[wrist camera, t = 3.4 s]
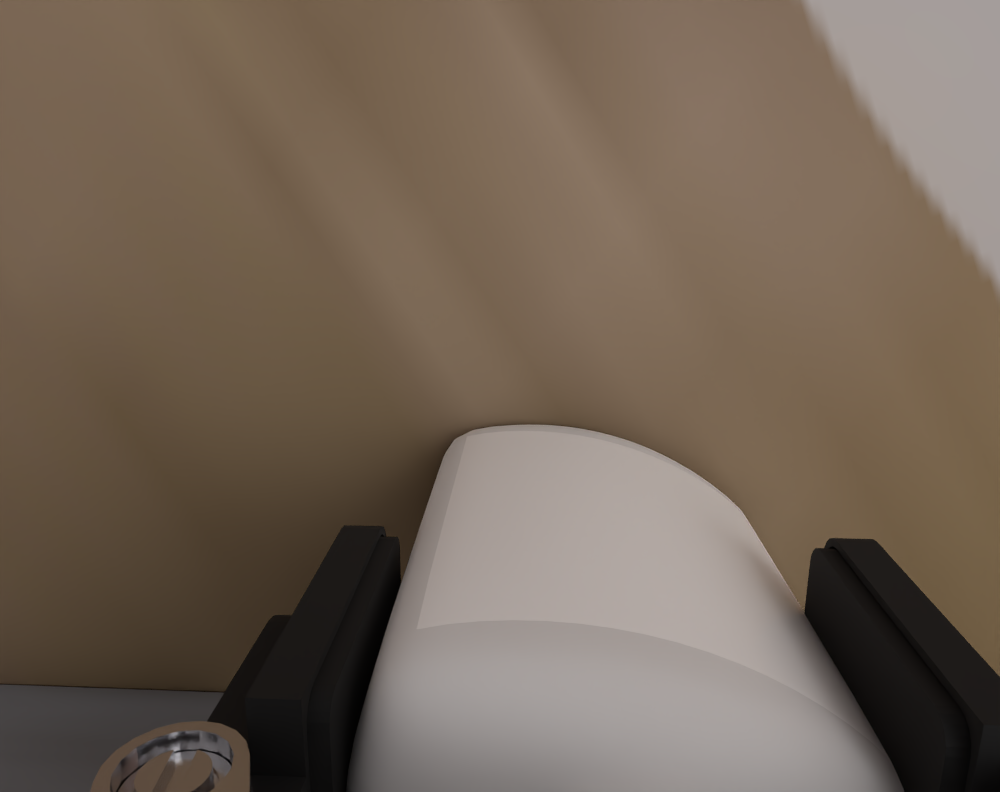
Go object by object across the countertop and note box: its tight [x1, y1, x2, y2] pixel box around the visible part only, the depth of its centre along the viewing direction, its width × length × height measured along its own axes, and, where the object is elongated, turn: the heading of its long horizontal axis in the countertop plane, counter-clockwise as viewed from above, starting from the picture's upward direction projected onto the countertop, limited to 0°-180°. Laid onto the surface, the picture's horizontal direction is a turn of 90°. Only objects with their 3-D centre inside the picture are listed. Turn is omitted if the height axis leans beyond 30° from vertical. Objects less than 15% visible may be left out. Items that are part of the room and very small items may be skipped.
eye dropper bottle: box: [346, 424, 904, 792], centre depth 9 cm, size 4×6×12 cm
